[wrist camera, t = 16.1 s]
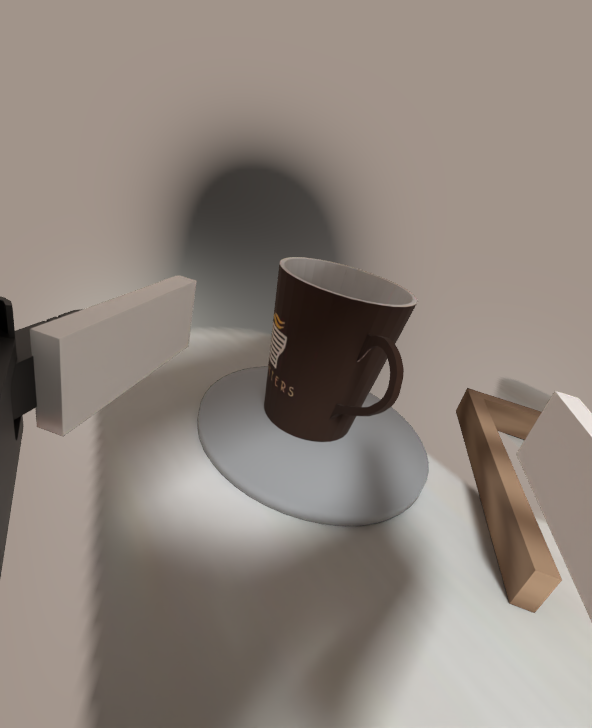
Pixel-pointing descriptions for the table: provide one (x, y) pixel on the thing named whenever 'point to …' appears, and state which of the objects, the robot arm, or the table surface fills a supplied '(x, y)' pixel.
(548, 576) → the brown wooden open frame
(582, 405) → the robot arm
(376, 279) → the coffee mug
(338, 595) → the table surface
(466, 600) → the table surface
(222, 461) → the mat
